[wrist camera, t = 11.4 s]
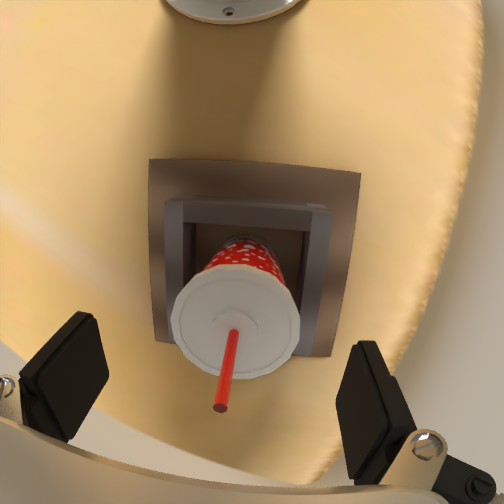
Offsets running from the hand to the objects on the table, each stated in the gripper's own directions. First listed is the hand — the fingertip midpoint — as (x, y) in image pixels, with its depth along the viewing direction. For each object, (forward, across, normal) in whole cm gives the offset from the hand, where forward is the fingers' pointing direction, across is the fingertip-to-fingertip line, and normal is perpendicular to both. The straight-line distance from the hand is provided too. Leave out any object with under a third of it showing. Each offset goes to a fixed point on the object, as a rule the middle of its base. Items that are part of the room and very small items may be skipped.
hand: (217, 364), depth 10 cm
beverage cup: (+13, 0, +1) cm, 13 cm away
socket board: (+14, 0, +2) cm, 14 cm away
